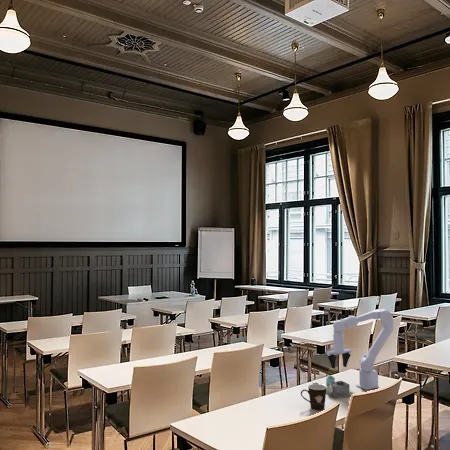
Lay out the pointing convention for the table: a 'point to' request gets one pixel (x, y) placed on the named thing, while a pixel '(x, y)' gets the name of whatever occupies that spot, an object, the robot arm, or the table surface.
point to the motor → (337, 389)
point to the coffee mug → (316, 396)
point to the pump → (329, 380)
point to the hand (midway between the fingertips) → (339, 367)
